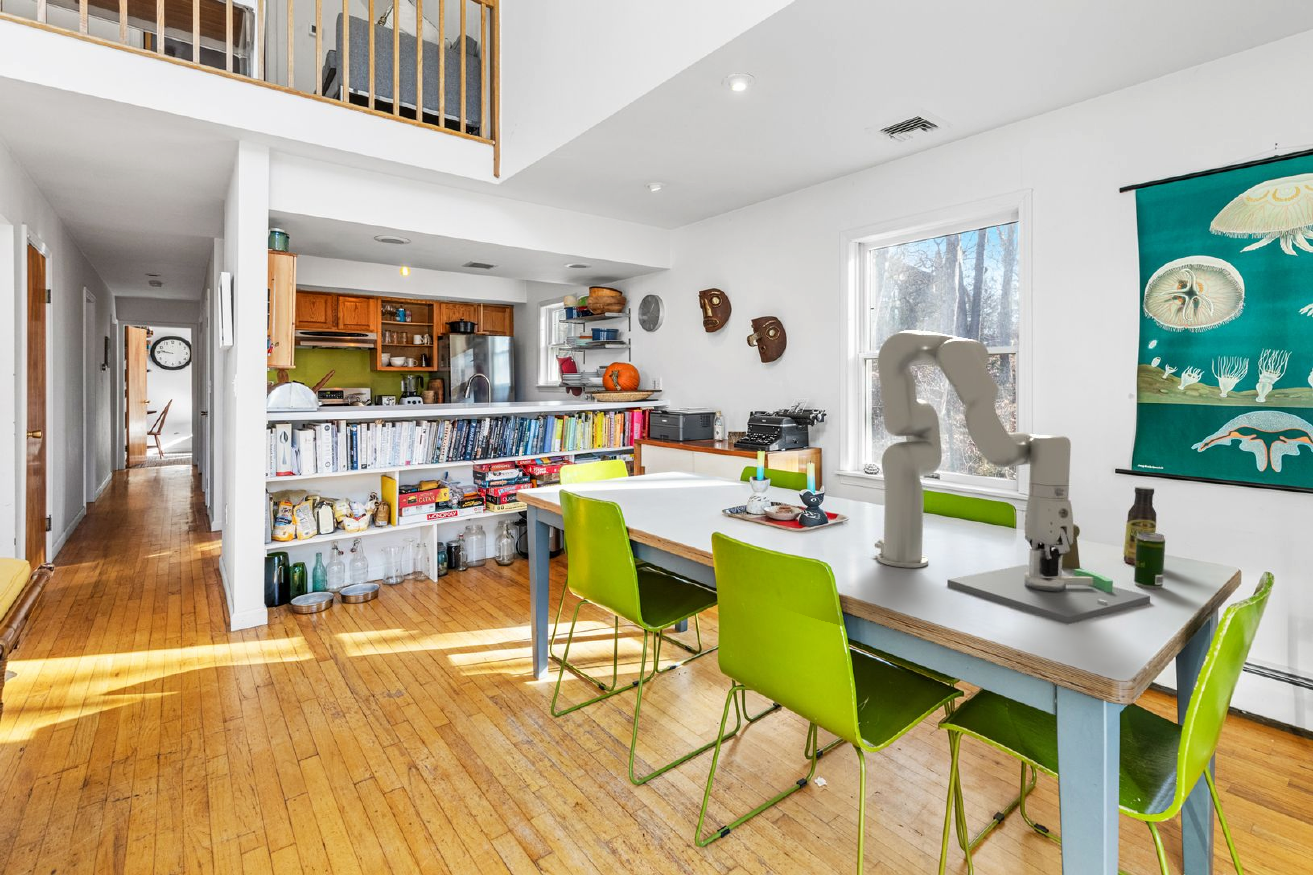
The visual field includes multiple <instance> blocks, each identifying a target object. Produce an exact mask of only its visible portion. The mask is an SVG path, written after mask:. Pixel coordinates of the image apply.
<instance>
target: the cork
mask: <svg viewBox="0 0 1313 875" xmlns="http://www.w3.org/2000/svg"><path fill="white" fill-rule="evenodd" d="M1080 531H1081V530H1080V527H1079V525H1077V524H1074V523H1073V543H1072V545H1069V548H1070V551H1069V552H1066V553H1063V556H1062V569H1065V570H1075V569H1081V566H1080V564H1081V563H1080V554H1079V553H1080V552H1079V547H1078V544H1079V543H1078V537H1079V535H1080Z"/></svg>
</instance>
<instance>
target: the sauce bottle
mask: <svg viewBox="0 0 1313 875" xmlns="http://www.w3.org/2000/svg"><path fill="white" fill-rule="evenodd" d="M1134 493H1135V494H1134V495H1135V496H1134V502H1133V503H1134V504H1133V505H1132V506H1131V508H1130V509H1129V510H1128V511H1127V520H1126V524H1125V526H1126V527H1125V534H1124V535H1125V536H1124V544H1123V561H1124V562H1125V563H1128V564H1131V565H1135V554H1136V537H1137V535H1138V533H1139V532H1150V533H1157V531H1156V530H1157V512H1156V510H1155V509H1154V506H1153V505H1154V503H1153V500H1154V494H1155V488H1153V487H1149V486H1135V487H1134Z"/></svg>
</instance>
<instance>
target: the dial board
mask: <svg viewBox="0 0 1313 875" xmlns="http://www.w3.org/2000/svg"><path fill="white" fill-rule="evenodd" d="M1027 572H1029V564H1021V565H1017V566H1012V567H1011V566H1010V567H1007V568H1002V569H995V570H991V571H985V572H980V573H976V574H969V575H965V576H964V575H963V576H960V577H959V576H958V577H955V578H948V579H947V585H946V586H947V587H949V588H952V589H955V590H959V591H963V592H965V593H969V594H972V595H975V596H977V597H981V598H983V599H986V600H987V599H988V600H990V601H994V602H996V601H997V602H996V603H1000V604H1003V605H1006V606H1009V607H1013V608H1016V609H1018V610H1022V611H1025V612H1029V613H1032V614H1034V615H1038V616H1041V617H1045V618H1047V619H1050V620H1053V621H1056V622H1060V623H1062V624H1066V625H1071V624H1075V623H1079V622H1083V621H1086V620H1087V621H1088V620H1090V619H1094V618H1097V617H1102V616H1106V615H1110V614H1113V613H1116V612H1120V611H1124V610H1128V609H1133V608H1136V607H1140V606H1143V605H1147V604H1151V595H1148V594H1143V593H1140V592H1137V591H1132V590H1129V589H1124V588H1120V587H1116V586H1113V585H1114V583H1113V582H1114V581H1113V580H1111V579H1109V578H1108V577H1106V576H1105V575H1104V576H1103V575H1101V574H1098V573H1096V572H1093V571H1089V570H1086V569H1082V568H1079V569H1074V571H1073V572H1074V576H1073V575H1069V574H1065V573H1062V576H1071V577H1092V578H1093V585H1066V589H1065V590H1063V591H1045V590H1039V589H1034V588H1031V587H1028V586H1026V585H1025V584H1024V574H1025V573H1027Z"/></svg>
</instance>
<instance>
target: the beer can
mask: <svg viewBox="0 0 1313 875" xmlns="http://www.w3.org/2000/svg"><path fill="white" fill-rule="evenodd" d="M1165 549H1166V539H1165V535H1164V534H1162V533H1158V532H1155V533H1150V532H1139V533H1138V535H1137V537H1136V554H1135V564H1134V575H1133V576H1134V577H1133V582H1134V584H1135V585H1136V586H1137V587H1141V588H1146V589H1151V590H1159V589H1161V588H1162V587H1163V585H1164V571H1165V570H1164V568H1165V553H1166V550H1165Z"/></svg>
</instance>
